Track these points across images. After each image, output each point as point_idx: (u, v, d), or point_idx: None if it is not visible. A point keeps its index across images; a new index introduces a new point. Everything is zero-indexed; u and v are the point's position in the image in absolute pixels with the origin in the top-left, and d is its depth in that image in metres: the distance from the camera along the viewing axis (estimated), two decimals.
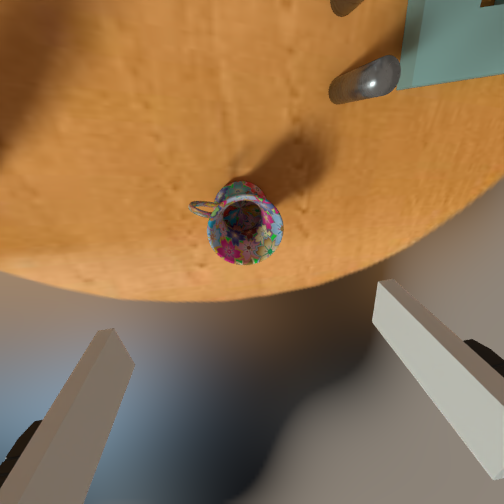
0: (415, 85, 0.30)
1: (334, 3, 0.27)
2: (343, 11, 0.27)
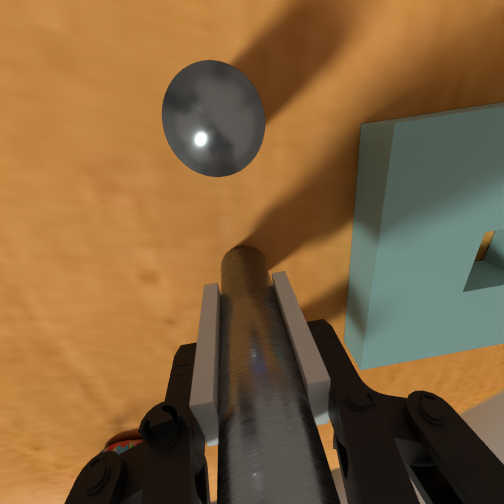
0: (366, 368, 0.19)
1: None
2: None
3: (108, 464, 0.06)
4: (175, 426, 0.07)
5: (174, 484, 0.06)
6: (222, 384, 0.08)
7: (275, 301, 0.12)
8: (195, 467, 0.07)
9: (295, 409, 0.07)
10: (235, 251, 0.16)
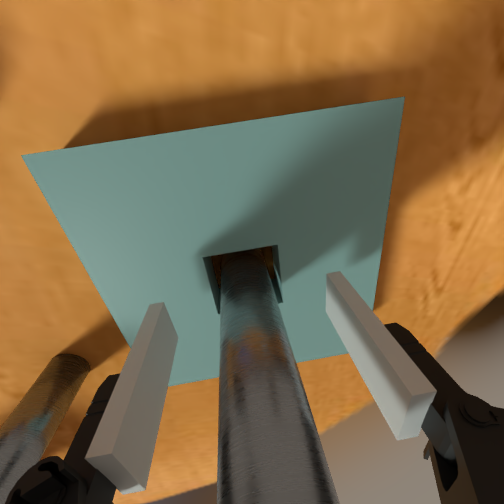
0: None
1: None
2: None
3: None
4: (58, 483, 0.06)
5: None
6: (222, 361, 0.09)
7: (271, 290, 0.13)
8: None
9: (287, 378, 0.08)
10: None
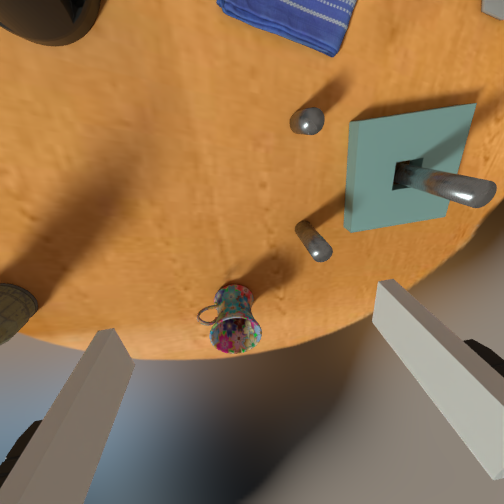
0: (353, 231, 0.43)
1: None
2: (396, 182, 0.41)
3: None
4: None
5: None
6: (429, 177, 0.33)
7: None
8: None
9: None
10: (396, 163, 0.40)
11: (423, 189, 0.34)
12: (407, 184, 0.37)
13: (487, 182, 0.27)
